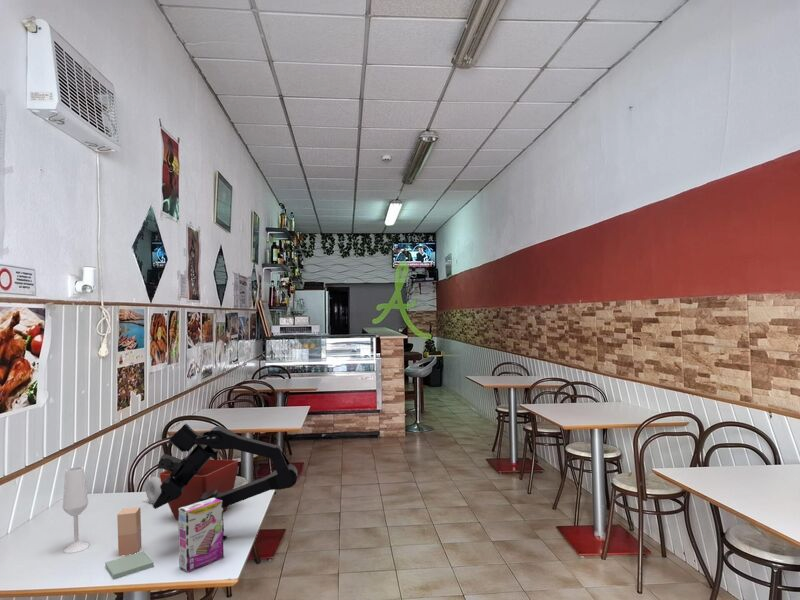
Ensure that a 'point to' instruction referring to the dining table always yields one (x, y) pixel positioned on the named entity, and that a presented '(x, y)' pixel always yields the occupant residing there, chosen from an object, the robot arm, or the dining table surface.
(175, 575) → the dining table surface
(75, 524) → the champagne flute
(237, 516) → the dining table surface
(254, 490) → the robot arm
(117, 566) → the base plate
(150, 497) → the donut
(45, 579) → the dining table surface
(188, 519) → the candy bar box
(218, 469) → the plant pot
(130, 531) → the peach rectangular block
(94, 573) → the dining table surface
